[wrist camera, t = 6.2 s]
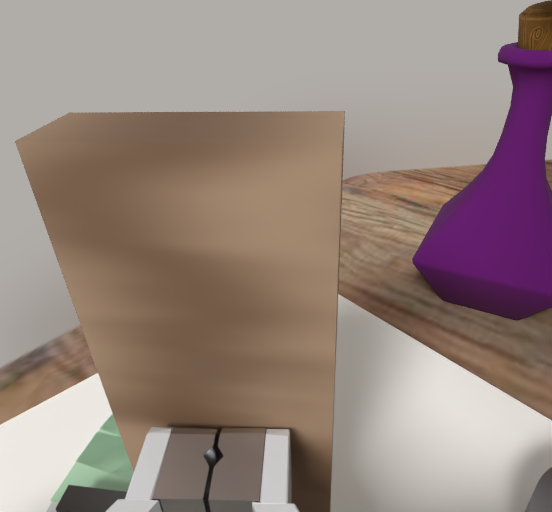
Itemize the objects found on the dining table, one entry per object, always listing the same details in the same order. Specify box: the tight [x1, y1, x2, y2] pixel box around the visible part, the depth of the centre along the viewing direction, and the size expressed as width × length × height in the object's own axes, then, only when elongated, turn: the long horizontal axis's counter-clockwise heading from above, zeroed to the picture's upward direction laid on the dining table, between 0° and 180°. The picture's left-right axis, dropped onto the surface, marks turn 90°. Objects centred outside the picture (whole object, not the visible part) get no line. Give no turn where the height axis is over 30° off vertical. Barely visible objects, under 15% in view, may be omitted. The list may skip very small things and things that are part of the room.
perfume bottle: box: [412, 0, 552, 320], centre depth 22 cm, size 8×8×18 cm
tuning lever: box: [15, 111, 552, 512], centre depth 10 cm, size 18×4×13 cm, turn 82°
